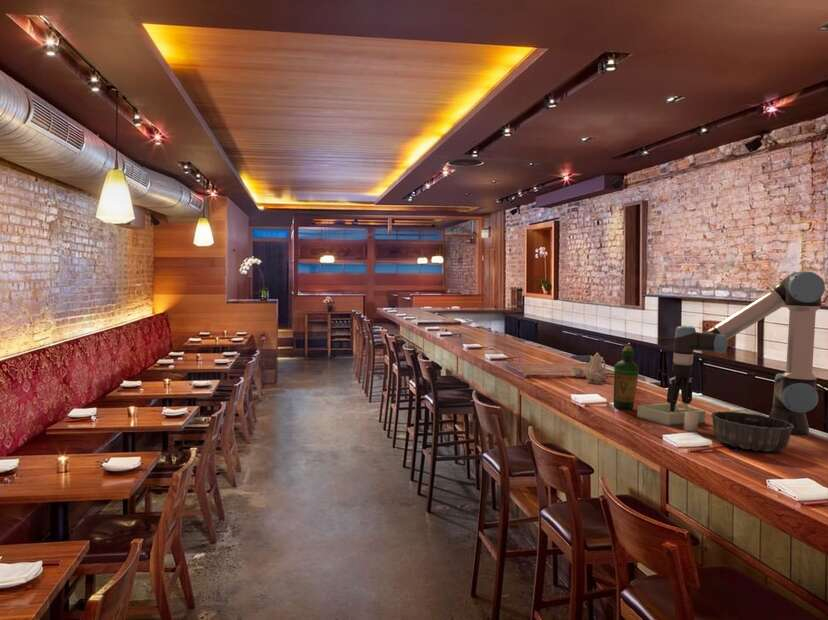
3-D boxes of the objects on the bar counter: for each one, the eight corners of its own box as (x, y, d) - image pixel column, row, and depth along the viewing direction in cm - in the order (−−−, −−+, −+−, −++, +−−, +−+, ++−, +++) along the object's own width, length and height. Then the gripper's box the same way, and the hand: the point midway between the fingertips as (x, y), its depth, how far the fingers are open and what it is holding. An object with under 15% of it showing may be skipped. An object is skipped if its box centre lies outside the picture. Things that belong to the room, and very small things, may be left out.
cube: (686, 420, 253) (687, 409, 253) (678, 421, 251) (679, 409, 251) (676, 418, 258) (677, 406, 257) (668, 418, 255) (669, 407, 255)
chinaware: (565, 378, 364) (565, 350, 363) (590, 375, 369) (590, 348, 367) (592, 387, 337) (591, 357, 336) (618, 384, 342) (617, 355, 341)
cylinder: (700, 431, 240) (701, 413, 239) (691, 432, 237) (693, 414, 237) (689, 428, 244) (690, 410, 244) (680, 429, 242) (682, 411, 241)
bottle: (620, 411, 270) (624, 348, 268) (606, 405, 280) (611, 345, 278) (640, 410, 272) (645, 348, 271) (626, 405, 283) (631, 345, 281)
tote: (704, 422, 255) (705, 411, 255) (668, 426, 245) (669, 414, 245) (672, 414, 270) (673, 402, 269) (637, 417, 259) (638, 405, 259)
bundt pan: (718, 432, 240) (720, 407, 239) (796, 447, 223) (799, 420, 223) (700, 444, 220) (702, 417, 219) (784, 462, 203) (787, 432, 202)
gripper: (689, 361, 260) (684, 415, 262) (659, 362, 252) (655, 418, 253) (704, 364, 254) (700, 419, 255) (675, 365, 245) (670, 422, 247)
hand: (677, 418), depth 254 cm, fingers open, 5 cm apart
